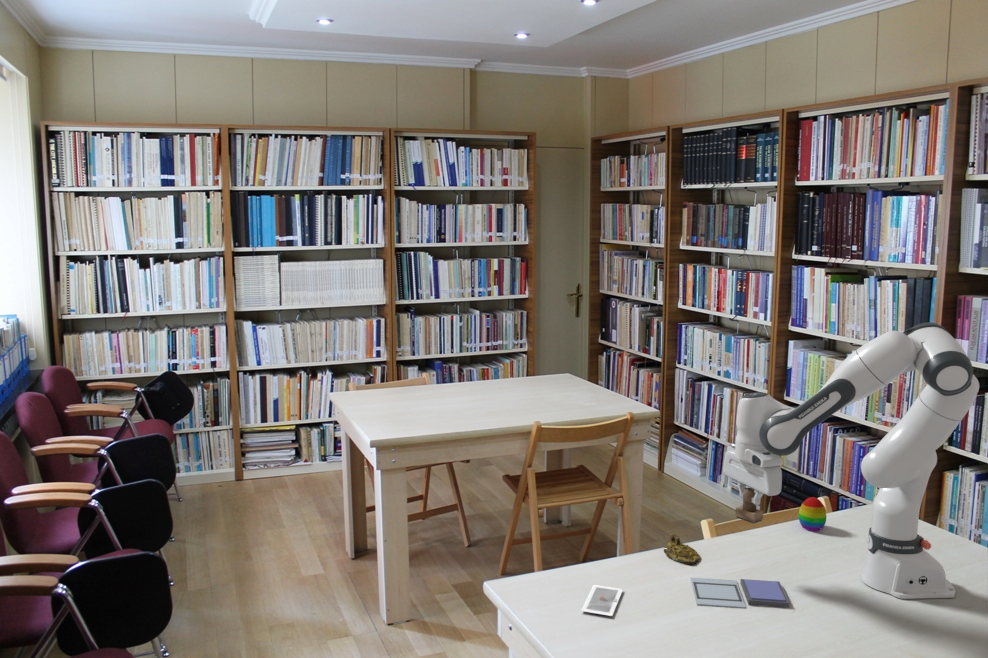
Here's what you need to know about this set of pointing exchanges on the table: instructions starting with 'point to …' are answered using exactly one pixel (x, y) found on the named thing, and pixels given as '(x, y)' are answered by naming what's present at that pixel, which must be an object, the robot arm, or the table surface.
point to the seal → (681, 552)
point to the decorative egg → (812, 514)
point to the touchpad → (602, 600)
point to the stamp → (749, 508)
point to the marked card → (717, 592)
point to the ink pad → (764, 593)
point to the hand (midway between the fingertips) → (749, 500)
